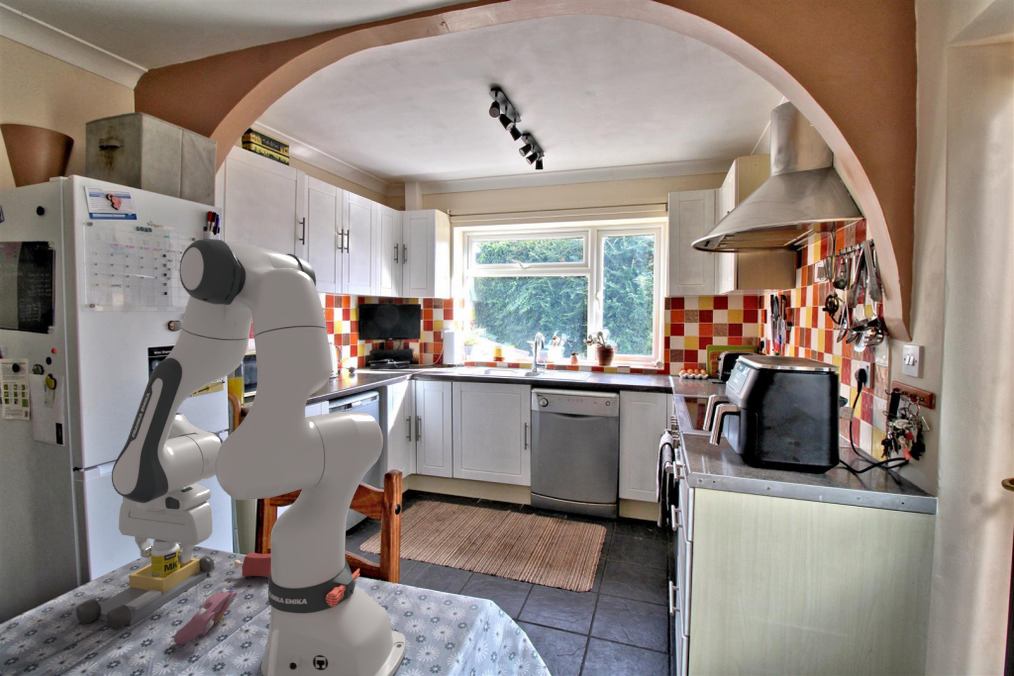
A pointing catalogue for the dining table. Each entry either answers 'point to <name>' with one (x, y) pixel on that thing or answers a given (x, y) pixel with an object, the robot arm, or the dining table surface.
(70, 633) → the dining table surface
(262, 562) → the meat
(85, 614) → the chassis
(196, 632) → the video game controller
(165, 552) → the supplement bottle
